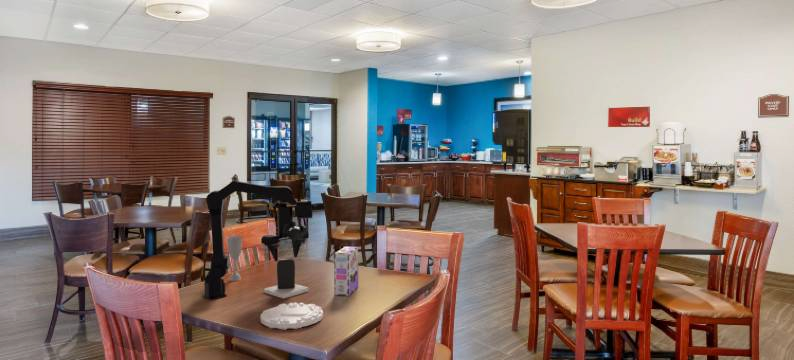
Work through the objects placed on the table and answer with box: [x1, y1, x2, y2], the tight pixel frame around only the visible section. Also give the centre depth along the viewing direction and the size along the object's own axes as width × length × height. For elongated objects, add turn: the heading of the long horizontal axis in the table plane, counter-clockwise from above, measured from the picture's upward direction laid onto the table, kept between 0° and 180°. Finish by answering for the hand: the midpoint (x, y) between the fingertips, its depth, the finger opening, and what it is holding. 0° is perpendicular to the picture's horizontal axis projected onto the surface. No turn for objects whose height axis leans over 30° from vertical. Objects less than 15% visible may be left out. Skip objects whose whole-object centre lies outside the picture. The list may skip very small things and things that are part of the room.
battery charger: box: [276, 257, 296, 289], centre depth 191 cm, size 7×4×11 cm, turn 101°
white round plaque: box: [260, 302, 324, 330], centre depth 161 cm, size 20×20×3 cm
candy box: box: [333, 246, 359, 297], centre depth 192 cm, size 14×6×16 cm, turn 168°
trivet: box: [263, 283, 309, 299], centre depth 191 cm, size 12×12×2 cm
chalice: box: [225, 235, 243, 282], centre depth 209 cm, size 7×7×18 cm
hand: (286, 259), depth 190 cm, fingers open, 9 cm apart
